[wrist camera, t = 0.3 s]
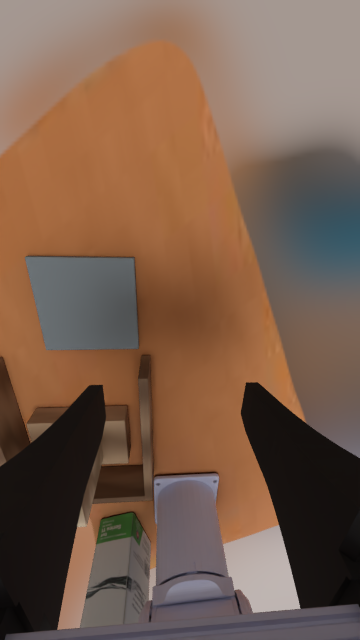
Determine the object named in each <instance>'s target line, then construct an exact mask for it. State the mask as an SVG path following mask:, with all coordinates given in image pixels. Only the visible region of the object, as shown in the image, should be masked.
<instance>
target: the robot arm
mask: <svg viewBox="0 0 360 640" xmlns="http://www.w3.org/2000/svg"><path fill="white" fill-rule="evenodd" d="M241 416H242V420H243V424H244V427H245V431H246V434H247V436H248V439H249V441H250V444H251V446H252V449H253V451H254V454H255V456H256V459H257V461H258V463H259V466H260V468H261V471H262V473H263V476H264V478H265V481H266V484H267V486H268V489H269V493H270V496H271V499H272V502H273V506H274V509H275V512H276V516H277V519H278V523H279V526H280V530H281V533H282V536H283V540H284V544H285V547H286V552H287V555H288V559H289V563H290V566H291V570H292V575H293V579H294V583H295V587H296V591H297V595H298V599H299V603H300V608H301V609H295V610H282V611H271V612H260V613H253V612H252V608H251V605H250V603H249V600H248V599H247V598H246V597H245V595H244V594H243V593H242V591H241V590H235V591H234V587H233V581H232V578H231V577H229V576H228V570H227V565H226V559H225V554H224V548H223V543H222V537H221V532H220V526H219V520H218V515H217V509H216V497H217V490H218V482H219V475H218V474H216V473H211V474H191V475H170V476H156V477H155V478H154V505H155V523H156V524H157V553H156V586H154V587H153V598H152V599H153V600H151V601H146V603H145V605H144V607H143V609H142V611H141V612H140V615H139V619H138V623H132V624H120V625H109V626H97V627H86V628H75V629H62V630H57V627H58V622H59V616H60V611H61V605H62V600H63V594H64V588H65V583H66V578H67V573H68V568H69V563H70V558H71V553H72V548H73V543H74V538H75V533H76V529H77V525H78V520H79V516H80V511H81V507H82V502H83V498H84V494H85V491H86V487H87V484H88V481H89V477H90V474H91V471H92V468H93V465H94V462H95V459H96V456H97V453H98V449H99V446H100V443H101V440H102V436H103V431H104V426H105V421H106V410H105V402H104V393H103V385H90V386H88V387H87V389H86V390H85V391H84V392H83V393H82V394H81V395H80V396H79V397H78V398H77V399H76V401H75V402H74V403H73V404H72V405H71V406H70V407H69V408H68V409H67V410H66V411H65V412H64V413H63V414H62V415H61V416H60V417H59V418H58V419H57V420H56V421H55V422H54V423H53V424H52V425H51V426H50V427H49V428H48V429H47V430H45V431H44V432H43V433H42V434H41V435H40V436H39V437H38V438H37V439H35V440H34V441H33V442H32V443H31V444H29V445H28V446H27V447H26V448H24V449H23V450H22V451H21V452H19V453H18V454H17V455H15V456H14V457H13V458H11V459H10V460H8V461H7V462H6V463H4V464H3V465H1V466H0V640H360V458H358V457H357V456H355V455H353V454H352V453H350V452H348V451H346V450H345V449H343V448H341V447H340V446H338V445H337V444H335V443H333V442H332V441H330V440H329V439H327V438H326V437H324V436H323V435H322V434H320V433H318V432H317V431H316V430H314V429H313V428H312V427H310V426H309V425H307V424H306V423H305V422H304V421H302V420H301V419H300V418H298V417H297V416H296V415H295V414H293V413H292V412H291V411H290V410H289V409H287V408H286V407H285V406H284V405H283V404H282V403H280V402H279V401H278V400H277V399H276V398H275V397H274V396H273V395H271V394H270V393H269V392H268V391H267V390H266V389H265V388H264V387H262V386H261V385H260V384H259V383H258V382H255V383H246V386H245V392H244V398H243V403H242V409H241Z"/></svg>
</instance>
